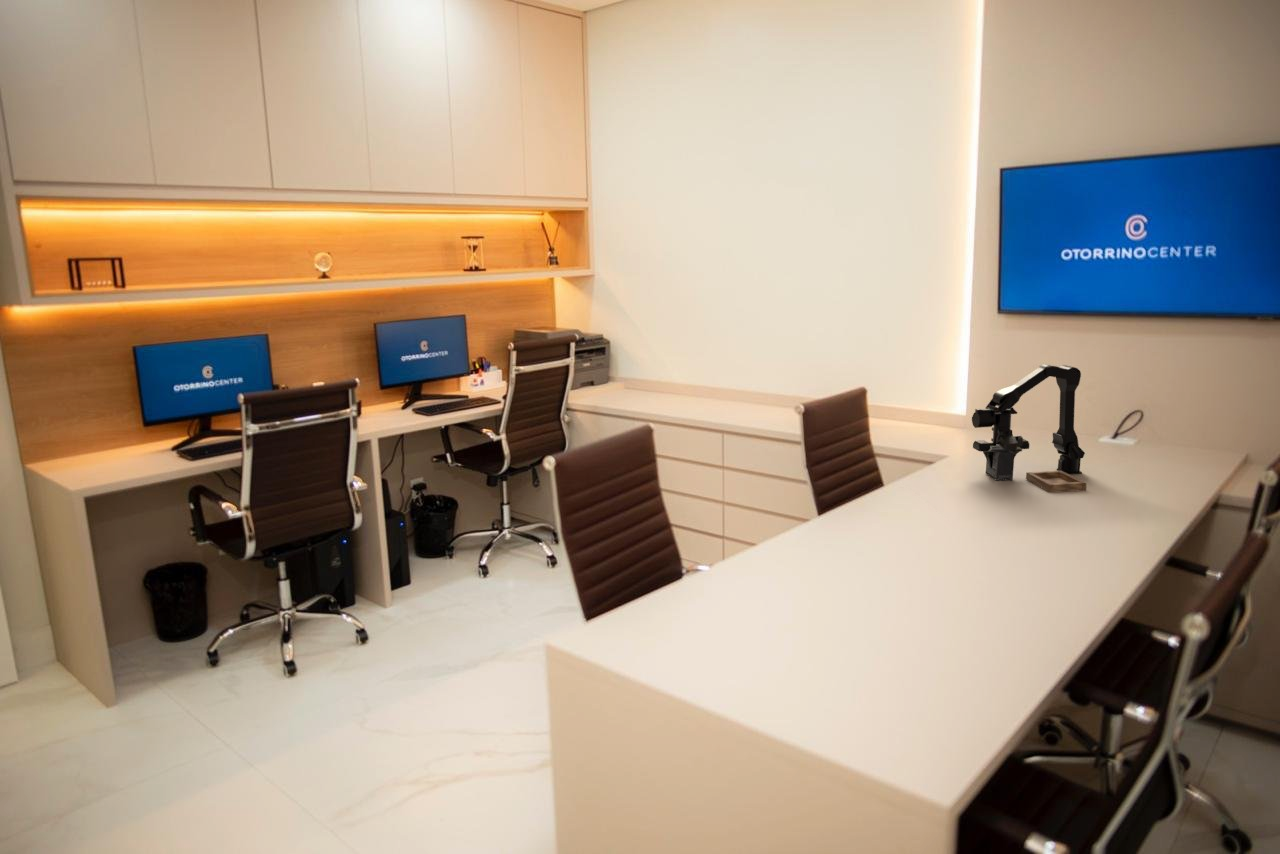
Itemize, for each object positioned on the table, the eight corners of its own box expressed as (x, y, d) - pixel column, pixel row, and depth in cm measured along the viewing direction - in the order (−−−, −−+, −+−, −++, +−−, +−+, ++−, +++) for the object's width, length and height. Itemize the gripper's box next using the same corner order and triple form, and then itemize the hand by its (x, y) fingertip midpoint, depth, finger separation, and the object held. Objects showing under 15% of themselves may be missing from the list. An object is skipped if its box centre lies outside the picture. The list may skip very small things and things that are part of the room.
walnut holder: (1060, 477, 309) (1061, 470, 309) (1085, 490, 294) (1086, 482, 293) (1025, 479, 309) (1026, 472, 308) (1049, 492, 293) (1049, 484, 293)
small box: (1014, 480, 308) (1015, 452, 306) (996, 481, 308) (997, 453, 306) (1002, 472, 318) (1003, 445, 316) (984, 473, 319) (986, 445, 316)
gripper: (987, 432, 301) (984, 474, 304) (1038, 429, 302) (1035, 472, 305) (973, 425, 312) (971, 466, 315) (1022, 422, 313) (1020, 464, 316)
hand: (999, 467), depth 313 cm, fingers closed on small box, 6 cm apart
